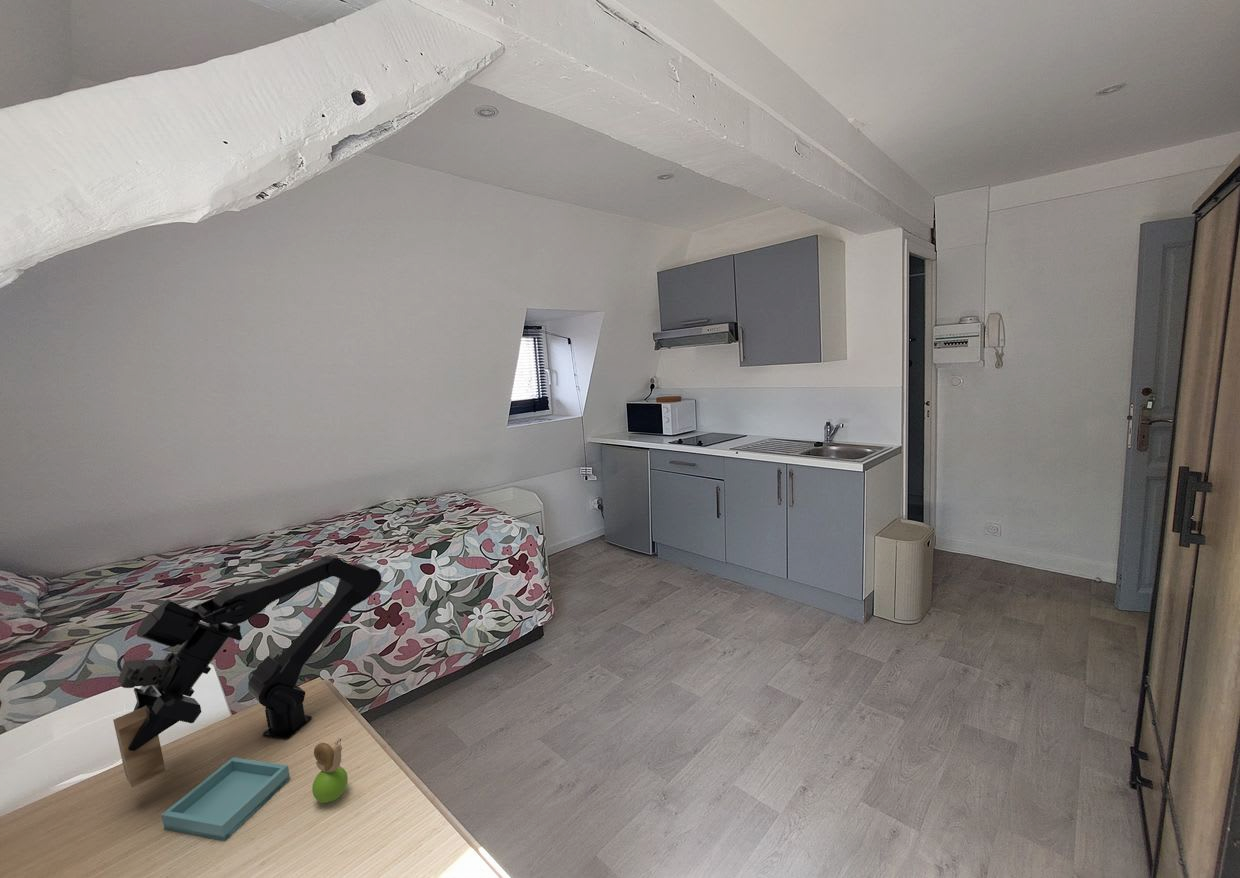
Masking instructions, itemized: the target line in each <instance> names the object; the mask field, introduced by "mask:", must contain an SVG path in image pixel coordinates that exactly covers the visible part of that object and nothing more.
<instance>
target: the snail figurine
mask: <svg viewBox="0 0 1240 878" xmlns="http://www.w3.org/2000/svg"><path fill="white" fill-rule="evenodd" d="M341 741H342V738H341V737H339V738H338V739H337V740H335V741H334V746H333V747H332V746H331V745H330V744H328V743H326V742H320V743H318V744H317V745H315V747H314V749H313V755H314V758H315V760H316V762H315V765H316V766H317V768H318V769H319V770H320V771H319V772H318V773H317V775H316V776H315V778H314V780H313V782H312V787H311V792H312V796H313V797H314V799H315V801H316V800H317V802H319V803H323V804H326V803H327V804H329V803H331V802H334V801H335V800H337V799H339V797H341V796H342V795H343V794H344V792H345V791H346V788H347V785H348V781H349V777H348V773H347V771H346V769H345V768H344V767H342V766H341V762H342V751H343V750H342V749H343V746H342V745H341V743H342V742H341Z"/></svg>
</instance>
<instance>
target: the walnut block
mask: <svg viewBox="0 0 1240 878" xmlns="http://www.w3.org/2000/svg"><path fill="white" fill-rule="evenodd" d="M146 717H147V713H146V708H145V706H144V707H142V708H140V709H137V710H135V711H134V710H133V711H131V712H128V713H126V714H123V715H121V716H118V717H116V718H114V719H112V720H113V725H114V730H115V734H116V738H117V739H116V740H117V743H118V747H119V752H120V753H119V754H120V757H121V761H122V762H121V763H122V766H123V770H124V775H125V777H126V780H127V781H128V784H129V785H130V787H131V788H134V787H136V786H138V785H140V784H142V783H144V782H146V781H148V780H150V779H152V778H153V777H157V776H158V775H159V774H162V773H163V772H165V771H166V765H165V760H164V755H163V751H162V747H161V742H160V737H159V734H158V735H157V736H156V737H154V738H153V739H151V740H150V741H148V742H147V743H146V744H144V745H143V746H141V747H140V748H138V749H137V750H136V751H131V750H128V748H129V746H130V744H131V742H132V740H133V739H134V737H135V735H136V734H137V732H138V730H139V729H140V727H141V726H142V724H143V722H144V721H145V719H146Z"/></svg>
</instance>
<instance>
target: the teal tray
mask: <svg viewBox="0 0 1240 878" xmlns="http://www.w3.org/2000/svg"><path fill="white" fill-rule="evenodd" d="M290 780H291V777H290V770H289V765H287V764H281V763H279V764H278V763H273V762H267V761H266V762H265V761H261V760H260V761H259V760H254V759H246V758H240V757H234V756H233V757H231V758H230V759H229V760H227V761H226V762H225V763H223V765H221V766H219V768H217V770H215V771H213V773H212V774H210V775H209V776H208V777H206V778H205V779H204V780H202V781H201V782H200V783H199V784H197V785H196V786H195V787H194V788H193V789H192V790H190V791H189V792H188V793H186V794H184V796H183V797H181V798H180V799H179V800H177V802H174V804H173V805H171V806H170V807H169V808H167V810H165V811H164V812H163V813H161V821H162V825H163V829H164V830H167V831H170V832H171V831H172V832H176V833H181V834H186V835H191V836H196V837H201V838H206V839H207V838H208V839H212V840H218V841H221V842H222V841H223V842H226V841H227V840H228V839H229V838H230V837H231V836H232V835H233V834H234V833H235V832H236V831H237V830H239V828H241V826H243V825H244V824H245V823H246V821H248V820H249V819H250V818H251V817H252V816H253V815H254V814H255V813H257V811H258V810H260V809H261V807H263V806H264V805H265V804H266V803H268V801H269V800H270V799H271V798H272V797H273V796H274V795H275V794H276V793H277V792H278V791H279V790H280V789H281V788H283V786H285V785H286V784H287V783H288V781H290Z"/></svg>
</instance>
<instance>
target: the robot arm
mask: <svg viewBox="0 0 1240 878" xmlns="http://www.w3.org/2000/svg"><path fill="white" fill-rule="evenodd" d="M332 577H335V578H336V579H339V581H338V583H337V587H336V589H335V591H334V595H333V596H332V597H331V598H330V600H329V601H328V602H327V603H326V604H325V605H324V607H322V609H320V611H319V612H318V613H317V614H316V615H315V617H314V618H313V619H312V620H311V621H310V622H309V623H308V624H307V626H306V627H305V628H304V629H303V631H301V633H300V634H299V635H298V636H297V637H296V638H295V640H293V642H292V643H291V644H290V645H289V647H287V648H286V649H285V651H284V652H283V653H281V654H279V655H278V656H276V657H274V658H272V657H271V656H270V655H268V656H266V657H265V658H264V659H263V661H262V662H261V664H260V665H259V666H258V667H257V668H256V669H254V670H253V671H252V672H250V673H251V675H252V676H251V677H250V679H249V680H248V682H247V684H248V685H247V690H248V693H249V694H250V695H251V696H252V697H253V698H254V699H255V700H256V701H257V702H258V703H259V704H261V705H262V706H263V707H265V708H264V709H265V710H264V713H265V717H266V723H267V729H266V730H265V731H264V732H263V733H262V736H263V737H268V738H275V739H283V740H288V739H290V738H291V737H293V736H294V735H295V734H296V733H297V732H298V731H299V730H300V729H301V728H303V727H304V726H305V725H306V724H307V723H309V722H310V721H312V715H307V714H305V709H304V708H305V707H304V701H305V697H306V691H305V690H304V689H303V688H301V687H300V686H299V685H297V683H298V682H299V681H298V680H299V678H300V675H301V673H302V669H303V666H305V664H306V662H308V661H309V659H311V658H312V657H311V656H313V655H314V653H315V652H316V651H317V649H319V647H320V646H321V645H322V644H323V643H324V641H326V639H327V638H328V637H329V635H330V634H331V633H332V632H333V631H334V630H335V628H336V627H337V626H338V625H339V624H340V623H341V621H342V620H343V619H344V618H345V616H346V615H347V614H348V613H349V612H350V611H351V610H352V608H353V607H355V606H358V605H359V604H361V603H362V602H364V601H366V600H367V599H368V598H369V597H370V596H371V595H373V594H374V593H375V592H376V591H377V590H378V589H379V587H381V584H382V582H383V581H382V574H381V572H380V571H379V570H378V569H376V568H374V567H371V566H369V565H366V564H364V563H355V564H351V563H348V562H346V561H344V560H342V559H341V558H339V557H336V556H334V555H331V554H328V555H325V556H322V557H321V558H319V559H317V560H313V561H311V562H309V563H306V564H304V565H301V566H299V567H296V568H294V569H291V570H289V571H287V572H283V573H281V574H279V575H276V576H273V577H271V578H268V579H265V580H262V581H259V582H251V583H249V582H248V583H243V584H242V583H241V584H238V585H235V586H230V587H227V588H224V589H222V590H220V591H218V592H217V593H216V594H215V596H214V597H212V598H210V599H207V600H205V601H203V602H201V603H199V604H197V605H194V606H192V607H190V608H189V607H187V606H184V605H182V604H179V603H177V602H176V601H175V600H173V599H169V598H168V599H166V600H165V601H164V602H163V603H162V604H161V605H158V606H157V607H156V608H154V609H153V610H152V611H151V612H149V613H148V614H146V616H145V617H144V618H143V620H142V621H141V623H140V625H139V626H138V629H137V631H136V637H138V638H142V639H144V640H148V641H151V642H154V643H157V644H161V645H164V646H167V647H170V648H173V647H177V645H179V646H181V647H179V649H178V650H177V652H175V651H171V652H169V653H167V655H166V656H165V658H163V659H134V660H133V659H132V660H131V659H130V660H126V661H124V662H123V666H122V668H121V671H120V674H119V676H118V678H117V682H118V683H120V686H121V687H122V688H123V689H132V688H133V692H134V694H135V698H136V704H135V705H134V708H133V711H135V710H137V709H140V708H142V707H144V706H145V708H146V713H147V717H146V719H145V721H144V722H143V724H142V726H141V727H140V729H139V730H138V732H137V734H136V735H135V737H134V739H133V740H132V742H131V744H130V746H129V748H128V750H131V751H136V750H137V749H138V748H140V747H141V746H143V745H144V744H146V743H147V742H148V741H150V740H151V739H153V738H154V737H156V736H157V735H158V736H159V735H160V734H161V733H163V732H164V731H166V730H167V729H169V728H171V727H172V726H174V725H175V724H177V723H179V722H182V723H189V724H194V723H195V721H196V720H197V719H198V718H199V716H200V714H201V713H202V708H201V704H200V703H199V702H198V701H197V700H196V699H195V698H193V697H192V696H193V694H194V693H195V690H194V688H193V687H194V685H196V683H197V682H198V680H199V679H200V677H201V676H202V675H203V674H205V675H208V674H209V673H210V671H211V670H212V667H210V664H211V663H212V661H213V660H214V659H215V657H216V656H217V654H218V653H219V652H220V650H221V649H222V648H223V646H224V645H225V644H226V642H227V641H228V640H229V639H234V640H236V641H238V642H240V641H242V639H243V636H242V632H241V625H239V624H242V623H244V622H246V621H247V620H249V619H251V618H253V617H254V616H256V615H258V614H260V613H262V611H263V610H265V609H266V608H267V607H268V606H269V605H270V604H272V603H274V602H275V601H277V600H279V599H282V598H284V597H286V596H289V595H292V594H293V593H296V592H298V591H301V590H303V589H305V588H308V587H310V586H313V585H315V584H317V583H319V582H322V581H324V580H326V579H330V578H332ZM225 623H226V624H225ZM228 624H230V625H228ZM137 687H140V688H137Z"/></svg>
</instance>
